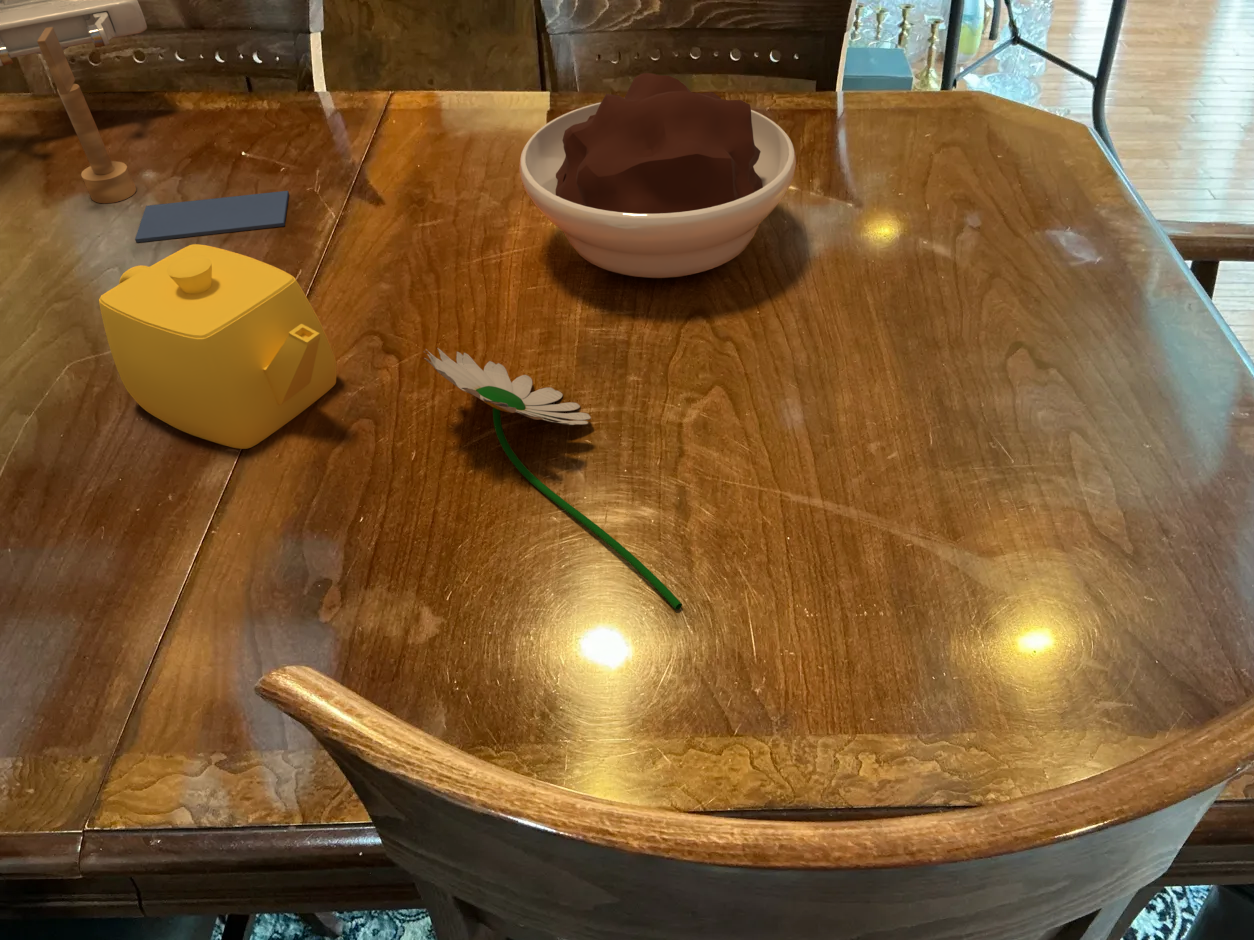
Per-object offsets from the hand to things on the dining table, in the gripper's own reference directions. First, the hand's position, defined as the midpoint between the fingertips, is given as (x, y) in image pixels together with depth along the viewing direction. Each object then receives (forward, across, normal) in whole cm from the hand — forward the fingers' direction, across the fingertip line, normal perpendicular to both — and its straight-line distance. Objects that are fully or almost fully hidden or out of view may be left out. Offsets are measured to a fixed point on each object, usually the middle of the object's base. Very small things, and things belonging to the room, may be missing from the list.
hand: (51, 48), depth 112 cm
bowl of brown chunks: (+52, +43, +11) cm, 69 cm away
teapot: (+55, +3, +11) cm, 57 cm away
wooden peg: (+12, 0, +11) cm, 16 cm away
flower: (+79, +19, +11) cm, 82 cm away
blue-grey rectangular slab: (+23, +8, +11) cm, 27 cm away
